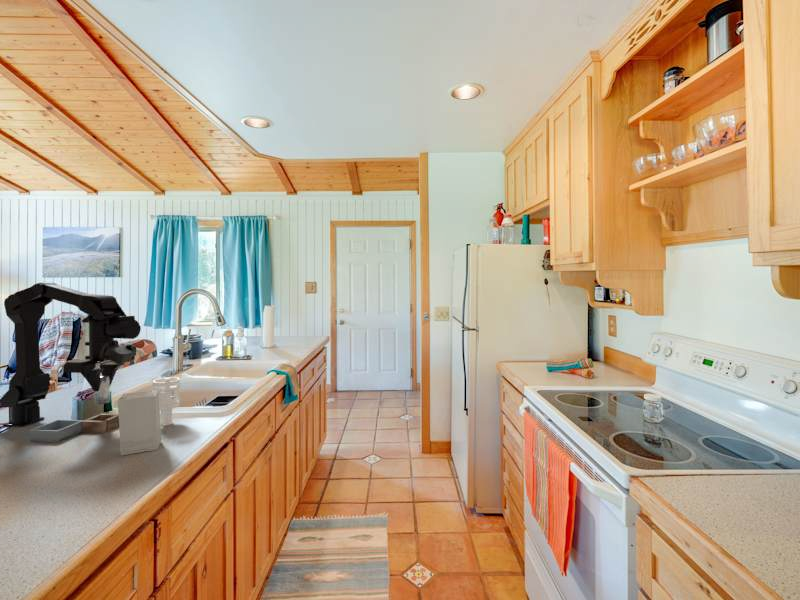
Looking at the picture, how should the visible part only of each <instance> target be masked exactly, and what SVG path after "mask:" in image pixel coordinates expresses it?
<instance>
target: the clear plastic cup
mask: <svg viewBox="0 0 800 600" xmlns="http://www.w3.org/2000/svg"><path fill="white" fill-rule="evenodd" d="M180 380H181V379H180V377H178V376H164V377H161V378H156V379H154V380H152V390H159V407H160V425H161V426H164V427H165V426H170V425H172V424H173V409H176V408H177V407H179V406H181V403H180V402H181V401H180V399H181V398H180V397H181V396H180V395H181V392H180V391H181V390H180V387H181V385H180V383H181V381H180Z"/></svg>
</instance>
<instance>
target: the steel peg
mask: <svg viewBox="0 0 800 600" xmlns="http://www.w3.org/2000/svg"><path fill="white" fill-rule="evenodd" d="M110 389H111V385H110V375H102V374H100V386H99V391H94V405H96V406H97V405H105V404H109V403H110V402H111V395H110V393H111V391H110Z"/></svg>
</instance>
